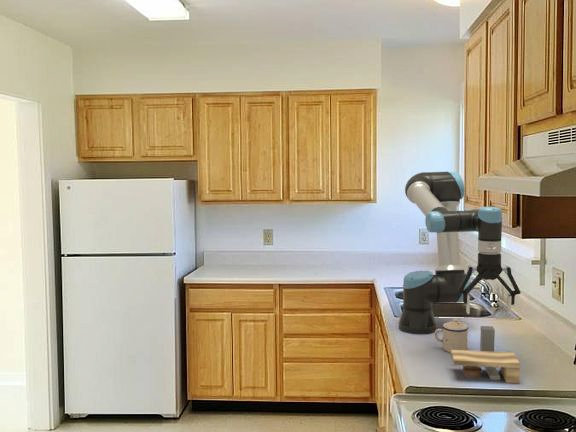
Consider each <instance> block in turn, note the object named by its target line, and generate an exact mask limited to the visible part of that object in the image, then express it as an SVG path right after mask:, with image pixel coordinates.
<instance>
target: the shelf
mask: <svg viewBox="0 0 576 432" xmlns="http://www.w3.org/2000/svg"><path fill="white" fill-rule="evenodd" d="M450 356H451V360H452V362H453V365H454V366H463V367H464V366H478V367H484V368H485V367H496V368H499V371H500V373H501V375H502V377H503V379H504V381H505V383H506V384H509V383H511V384H520V377H521V376H520V374H521V373H520V372H521V370H520V368H521V363H520V361H519V359H518V358H517V356H516V354H515V353H514V351H495V350H494V351H480V350H471V349H470V350H468V349H467V350H451V352H450Z"/></svg>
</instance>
